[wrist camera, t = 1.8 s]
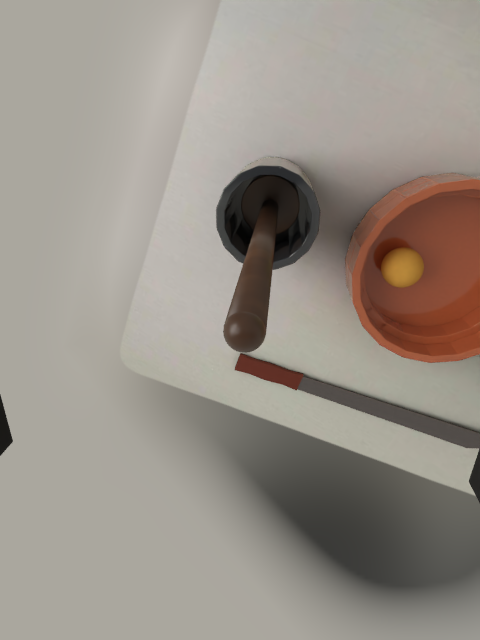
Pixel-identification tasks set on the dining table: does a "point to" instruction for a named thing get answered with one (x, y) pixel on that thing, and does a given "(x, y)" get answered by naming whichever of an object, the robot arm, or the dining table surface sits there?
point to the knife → (360, 402)
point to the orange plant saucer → (438, 275)
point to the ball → (402, 267)
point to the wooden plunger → (259, 258)
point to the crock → (286, 243)
